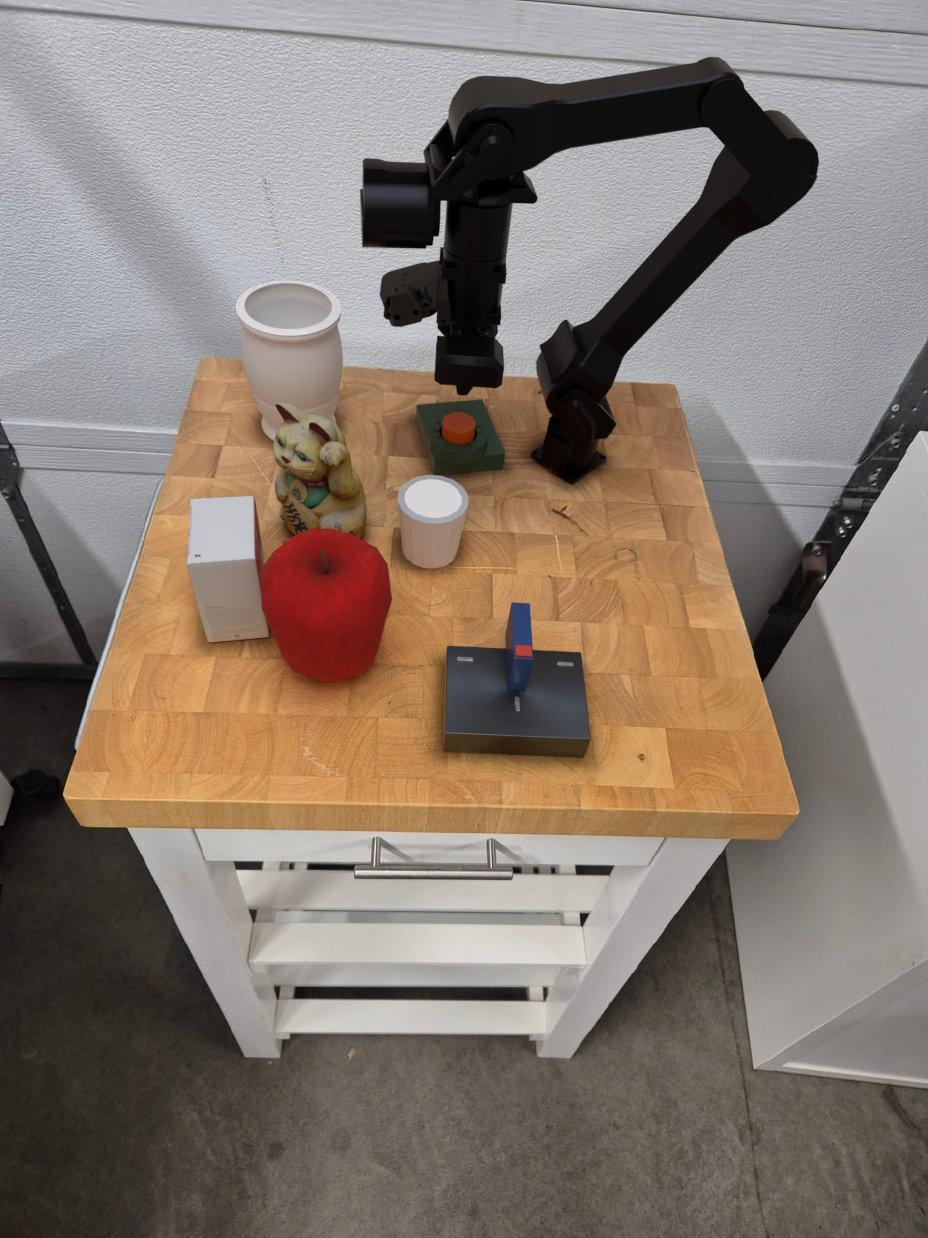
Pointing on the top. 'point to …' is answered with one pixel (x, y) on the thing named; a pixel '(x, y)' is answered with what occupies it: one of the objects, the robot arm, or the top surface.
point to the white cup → (431, 519)
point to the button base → (459, 458)
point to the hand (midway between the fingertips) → (462, 393)
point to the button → (458, 428)
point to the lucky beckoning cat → (316, 475)
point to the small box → (227, 567)
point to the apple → (326, 602)
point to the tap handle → (518, 646)
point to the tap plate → (514, 704)
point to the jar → (291, 349)
